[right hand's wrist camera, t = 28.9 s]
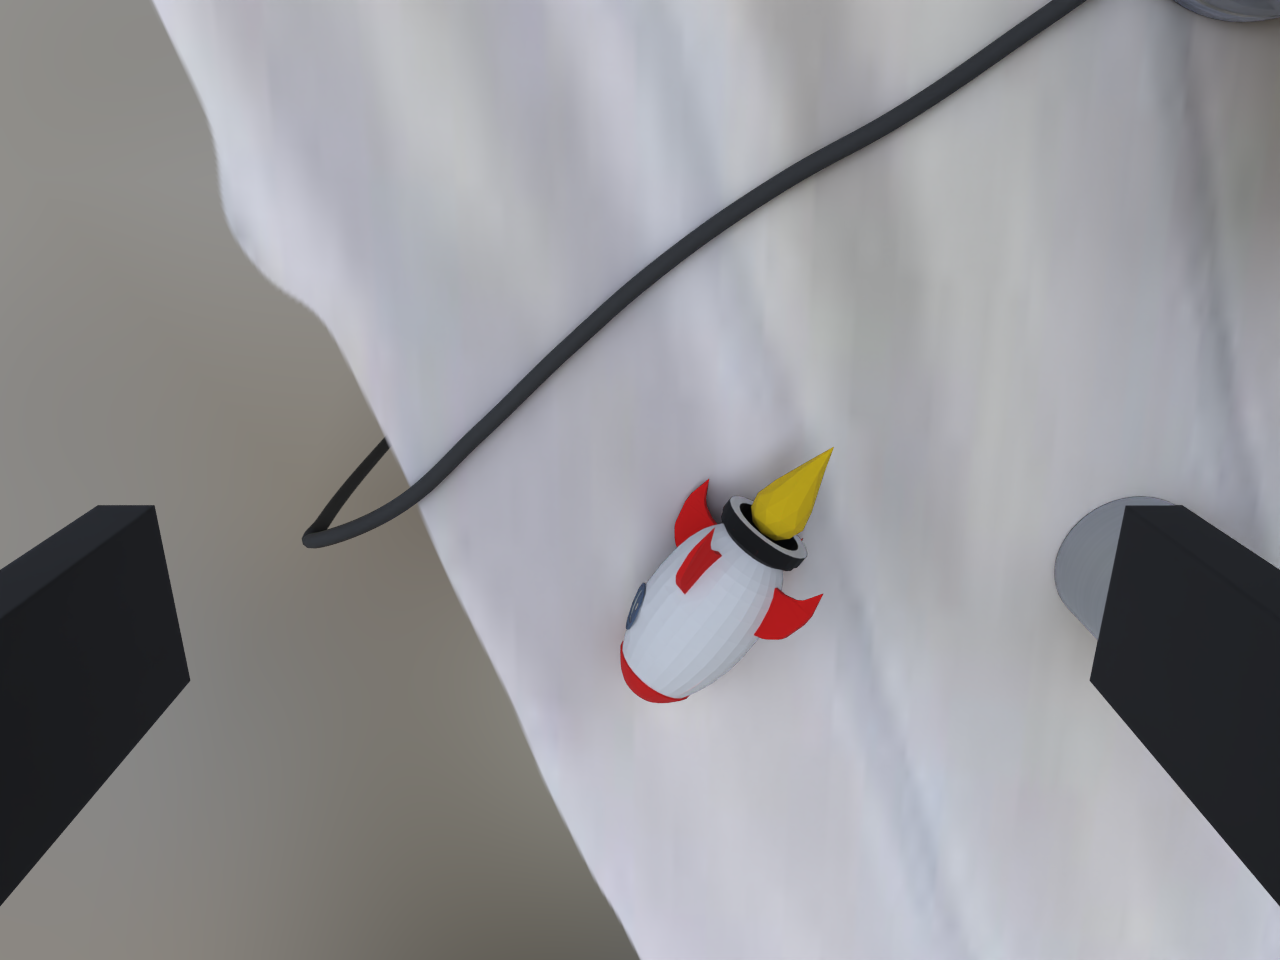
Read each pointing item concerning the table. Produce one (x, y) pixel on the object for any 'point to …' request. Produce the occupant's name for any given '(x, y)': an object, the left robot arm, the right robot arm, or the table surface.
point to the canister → (1092, 560)
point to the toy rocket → (720, 588)
